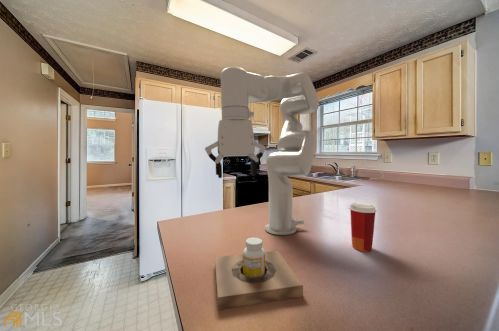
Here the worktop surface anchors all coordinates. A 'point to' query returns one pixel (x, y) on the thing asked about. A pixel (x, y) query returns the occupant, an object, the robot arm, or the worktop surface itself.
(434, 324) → the worktop surface
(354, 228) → the paper cup
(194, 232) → the worktop surface
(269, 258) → the seat board
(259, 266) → the supplement bottle
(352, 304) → the worktop surface
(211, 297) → the worktop surface
